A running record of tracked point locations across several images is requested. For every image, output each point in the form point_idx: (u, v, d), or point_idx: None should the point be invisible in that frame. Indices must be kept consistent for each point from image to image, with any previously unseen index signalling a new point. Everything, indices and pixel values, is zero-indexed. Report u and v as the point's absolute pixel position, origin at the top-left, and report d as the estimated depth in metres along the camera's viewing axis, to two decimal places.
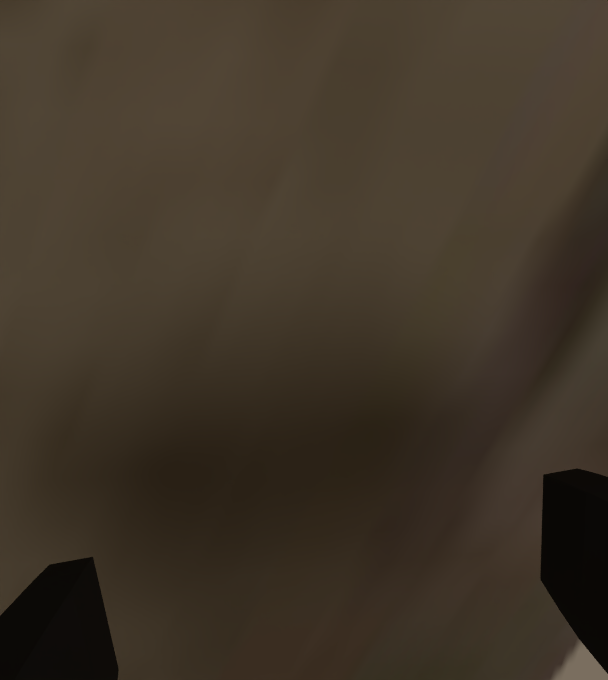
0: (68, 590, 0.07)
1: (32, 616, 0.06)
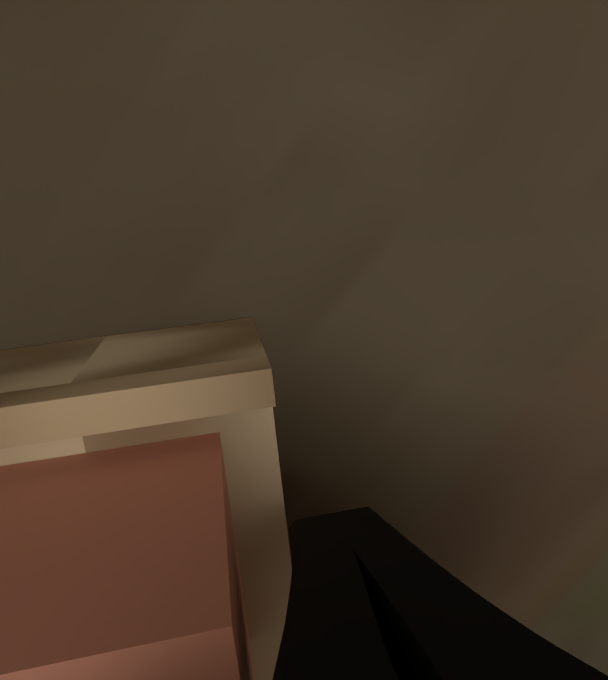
0: (347, 537, 0.07)
1: (333, 557, 0.07)
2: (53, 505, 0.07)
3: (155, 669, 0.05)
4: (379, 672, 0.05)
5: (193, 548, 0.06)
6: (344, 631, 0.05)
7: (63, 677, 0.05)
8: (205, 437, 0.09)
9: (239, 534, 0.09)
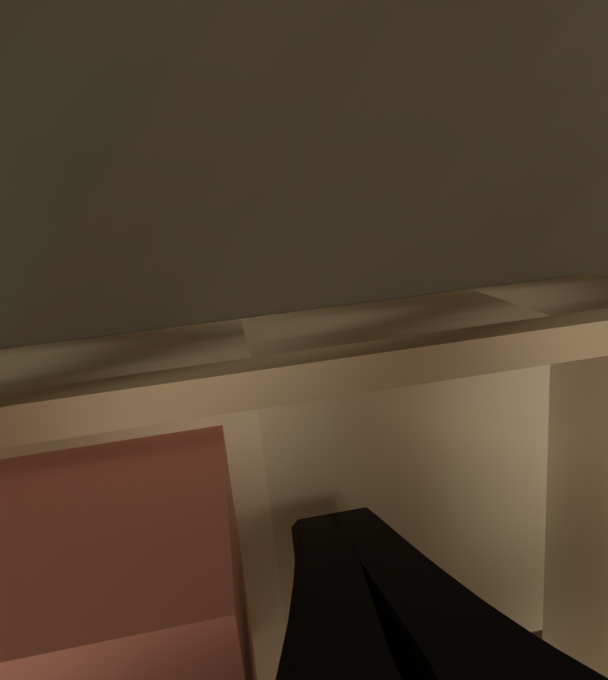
0: (349, 536, 0.07)
1: (336, 557, 0.07)
2: (56, 496, 0.07)
3: (158, 657, 0.05)
4: (382, 671, 0.05)
5: (196, 537, 0.06)
6: (347, 630, 0.05)
7: (67, 664, 0.05)
8: (207, 430, 0.09)
9: None
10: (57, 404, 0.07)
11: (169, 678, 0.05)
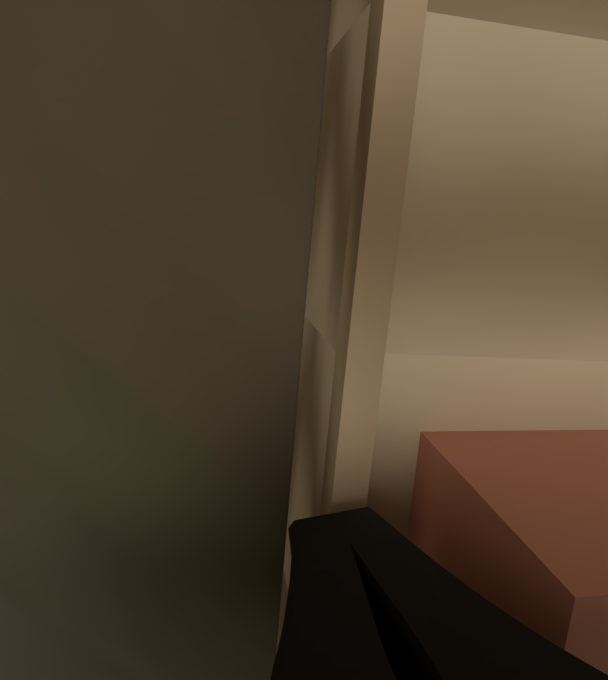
0: (346, 537, 0.07)
1: (332, 557, 0.07)
2: None
3: (586, 652, 0.06)
4: (377, 672, 0.05)
5: (506, 553, 0.07)
6: (342, 631, 0.05)
7: None
8: (421, 447, 0.09)
9: None
10: None
11: None
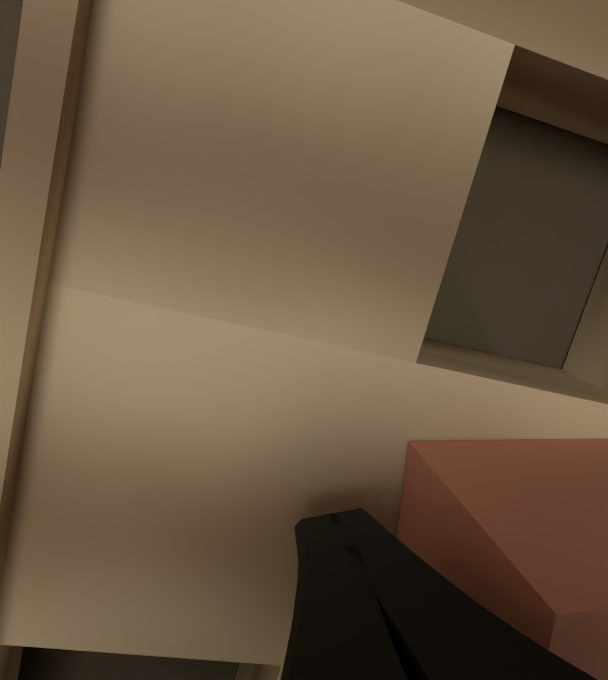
0: (353, 536, 0.07)
1: (339, 556, 0.07)
2: None
3: None
4: (388, 670, 0.05)
5: (490, 567, 0.07)
6: (352, 630, 0.05)
7: None
8: (409, 456, 0.10)
9: None
10: None
11: (589, 658, 0.06)
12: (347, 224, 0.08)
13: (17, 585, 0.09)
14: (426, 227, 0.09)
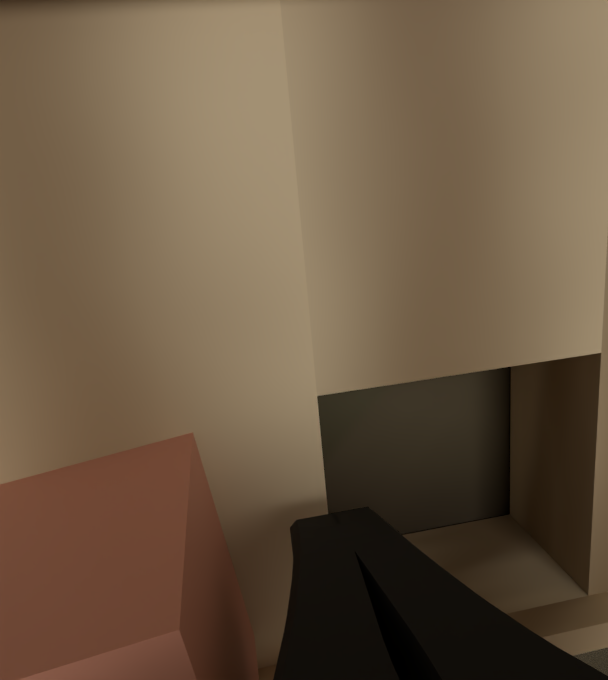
0: (348, 537, 0.07)
1: (334, 557, 0.07)
2: (24, 524, 0.07)
3: (107, 679, 0.05)
4: (380, 672, 0.05)
5: (152, 553, 0.06)
6: (345, 631, 0.05)
7: None
8: (177, 439, 0.09)
9: None
10: None
11: None
12: (424, 272, 0.09)
13: None
14: (443, 347, 0.09)
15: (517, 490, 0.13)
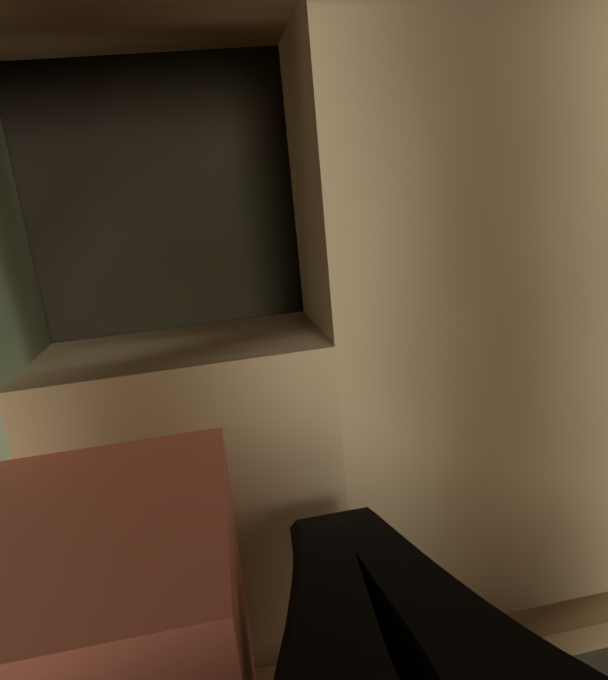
0: (348, 537, 0.07)
1: (334, 557, 0.07)
2: (55, 498, 0.07)
3: (156, 659, 0.05)
4: (380, 672, 0.05)
5: (195, 540, 0.06)
6: (345, 631, 0.05)
7: (65, 666, 0.05)
8: (207, 432, 0.09)
9: None
10: None
11: None
12: None
13: (390, 2, 0.08)
14: None
15: None
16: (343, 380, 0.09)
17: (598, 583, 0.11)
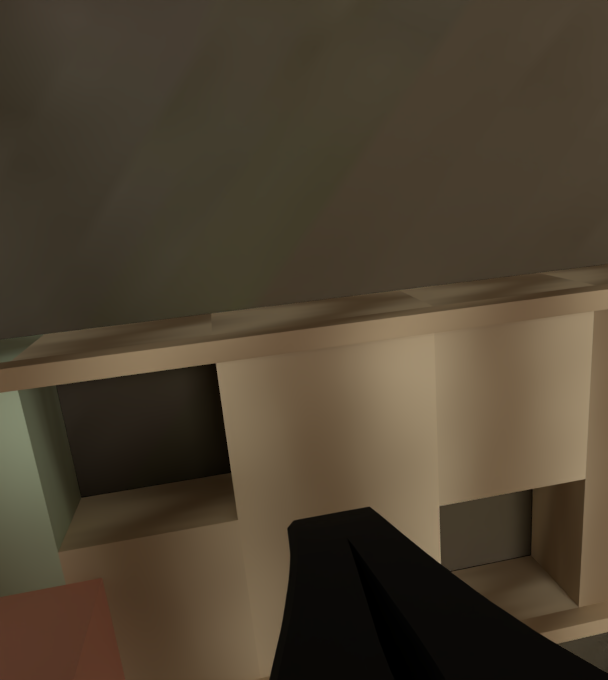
0: (345, 538, 0.07)
1: (331, 558, 0.07)
2: (5, 632, 0.14)
3: None
4: (376, 673, 0.05)
5: (63, 661, 0.13)
6: (341, 632, 0.05)
7: None
8: (93, 582, 0.16)
9: None
10: (346, 326, 0.15)
11: None
12: (495, 445, 0.17)
13: (259, 359, 0.15)
14: (503, 479, 0.18)
15: (536, 541, 0.22)
16: (243, 536, 0.16)
17: None
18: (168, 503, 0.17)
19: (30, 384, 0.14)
